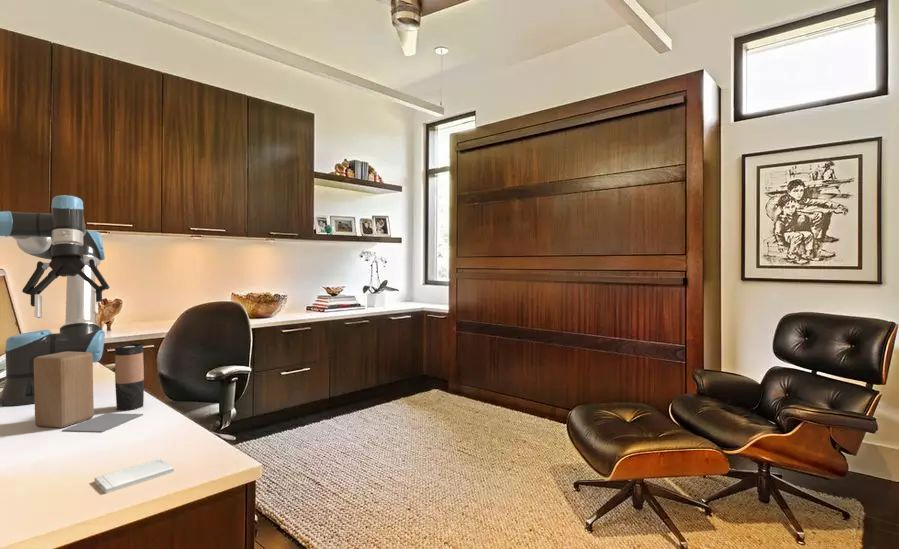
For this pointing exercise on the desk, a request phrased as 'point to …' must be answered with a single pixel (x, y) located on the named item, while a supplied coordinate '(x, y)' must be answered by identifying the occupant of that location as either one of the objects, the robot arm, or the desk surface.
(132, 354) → the travel mug
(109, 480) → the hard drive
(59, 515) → the desk surface
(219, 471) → the desk surface
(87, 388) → the block
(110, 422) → the mat
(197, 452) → the desk surface
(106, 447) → the desk surface
